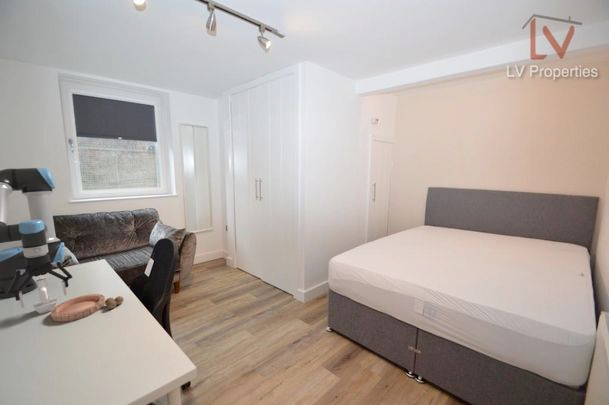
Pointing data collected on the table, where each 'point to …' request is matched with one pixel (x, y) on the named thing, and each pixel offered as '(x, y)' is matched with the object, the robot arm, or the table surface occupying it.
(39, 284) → the figurine
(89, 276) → the table surface
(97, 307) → the dish
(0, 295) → the robot arm
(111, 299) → the wooden beads
